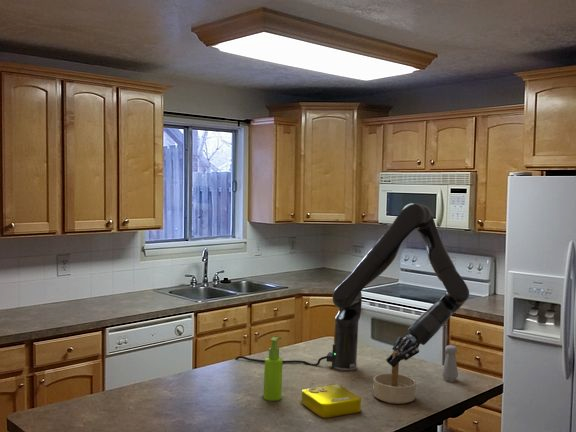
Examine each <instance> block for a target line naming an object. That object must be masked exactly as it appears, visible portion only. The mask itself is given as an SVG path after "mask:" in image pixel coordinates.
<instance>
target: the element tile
mask: <svg viewBox="0 0 576 432" xmlns="http://www.w3.org/2000/svg"><path fill="white" fill-rule="evenodd" d="M301 404H302V405H304V406H305V407H306V408H308V409H309V410H310V411H312V412H313V413H314V414H316V415H317V416H318V417H320V418H323V419H328V418H334V417H340V416H346V415H351V414H357V413H360V412H361V408H362V398H361V397H360V396H359V395H357V394H356V393H354V392H353V391H351V390H349V389H347V388H345V387H344V386H343V385H340V384H338V383H337V384H330V385H323V386H316V387H308V388H304V389H302V390H301Z"/></svg>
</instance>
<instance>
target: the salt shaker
mask: <svg viewBox="0 0 576 432" xmlns="http://www.w3.org/2000/svg"><path fill="white" fill-rule="evenodd" d="M444 351H445V352H446V354H445V358H444V363H443V366H442V367H443V368H442V371H441V374H442V378H443V380H444V381H446V382H450V383H454V382H456V381H457V379H458V377H459V372H458V365H457V357H456V354H457V353H458V347H457V346H455V345H453V344H448V345H446V346H445V349H444Z"/></svg>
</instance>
